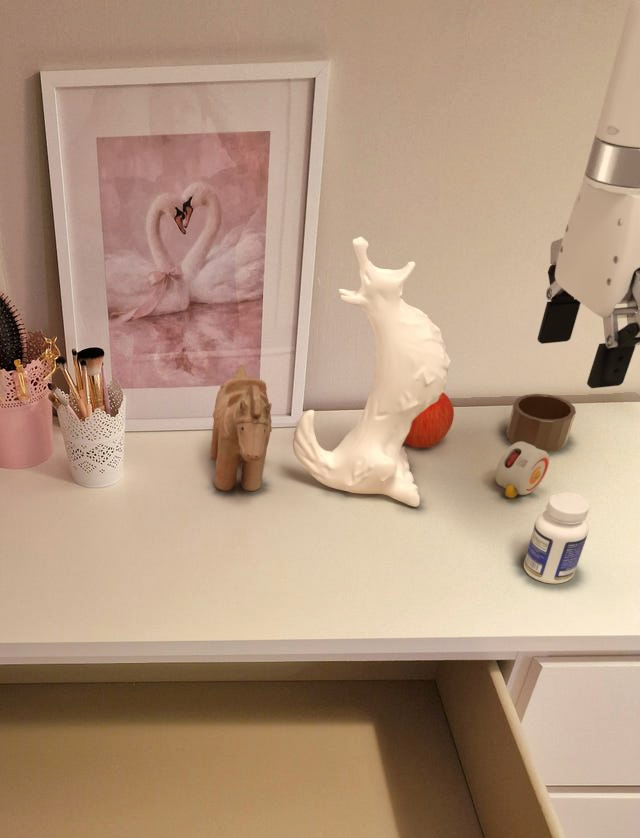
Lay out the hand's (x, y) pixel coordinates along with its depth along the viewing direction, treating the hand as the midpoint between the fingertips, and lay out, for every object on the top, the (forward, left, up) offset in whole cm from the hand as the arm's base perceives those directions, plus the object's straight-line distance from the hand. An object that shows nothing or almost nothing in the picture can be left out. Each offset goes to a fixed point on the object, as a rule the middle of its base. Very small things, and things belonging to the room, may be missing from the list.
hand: (577, 362), depth 83 cm
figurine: (+27, -22, -23) cm, 42 cm away
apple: (+2, -27, -23) cm, 36 cm away
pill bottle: (-2, +3, -23) cm, 23 cm away
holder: (-14, -24, -23) cm, 36 cm away
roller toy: (-6, -13, -23) cm, 27 cm away
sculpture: (+13, -18, -23) cm, 32 cm away
